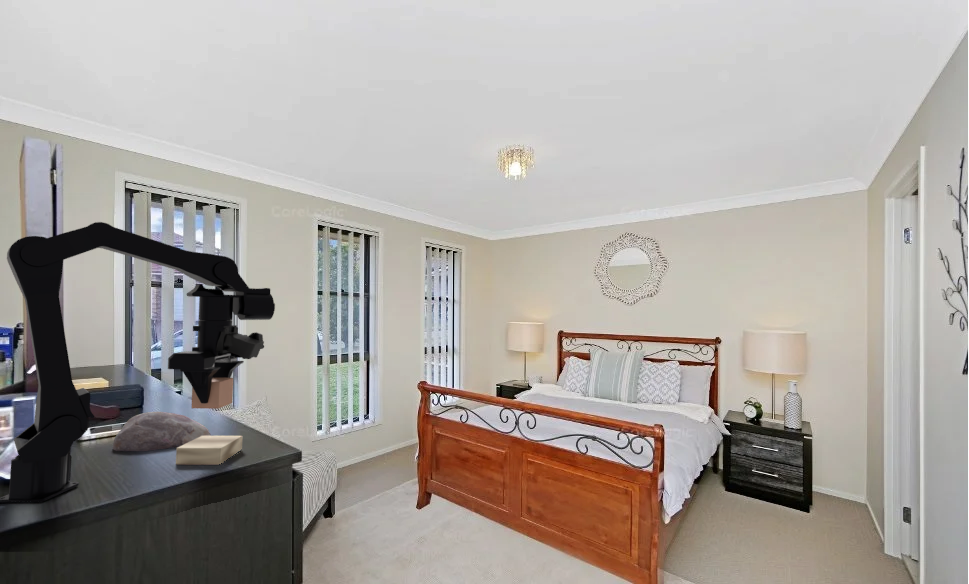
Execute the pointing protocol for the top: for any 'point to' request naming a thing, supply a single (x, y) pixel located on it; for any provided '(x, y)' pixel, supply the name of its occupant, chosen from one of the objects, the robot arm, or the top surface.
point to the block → (216, 394)
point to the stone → (157, 432)
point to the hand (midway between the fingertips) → (212, 400)
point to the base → (208, 450)
